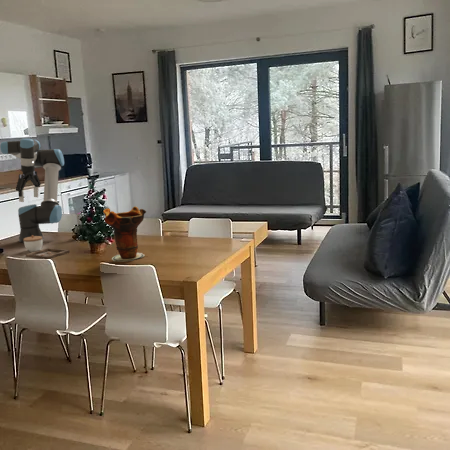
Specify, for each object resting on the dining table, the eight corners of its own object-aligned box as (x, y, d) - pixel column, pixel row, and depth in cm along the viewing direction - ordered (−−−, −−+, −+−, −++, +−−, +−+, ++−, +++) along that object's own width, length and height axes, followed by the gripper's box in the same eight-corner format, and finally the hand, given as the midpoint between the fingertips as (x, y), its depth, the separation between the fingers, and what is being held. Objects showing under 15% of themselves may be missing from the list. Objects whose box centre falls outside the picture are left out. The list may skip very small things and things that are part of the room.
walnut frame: (48, 249, 297) (48, 247, 296) (69, 252, 287) (69, 250, 287) (26, 256, 283) (25, 254, 283) (47, 259, 274) (47, 257, 274)
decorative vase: (158, 254, 269) (151, 204, 263) (121, 266, 254) (113, 213, 248) (137, 249, 284) (131, 201, 278) (101, 259, 270) (93, 209, 264)
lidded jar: (28, 249, 302) (26, 234, 300) (45, 247, 303) (44, 232, 301) (22, 253, 292) (20, 237, 290) (41, 251, 292) (39, 236, 291)
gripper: (19, 168, 283) (20, 204, 289) (46, 162, 306) (46, 196, 312) (8, 167, 284) (9, 202, 291) (35, 161, 308) (36, 194, 314)
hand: (28, 199), depth 301 cm, fingers open, 13 cm apart
